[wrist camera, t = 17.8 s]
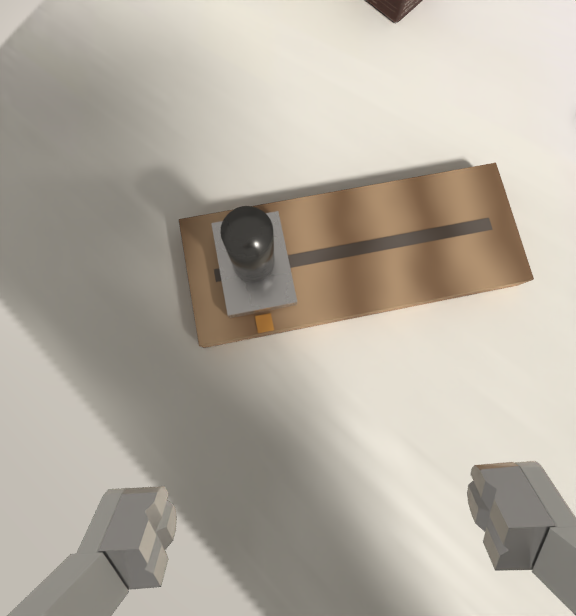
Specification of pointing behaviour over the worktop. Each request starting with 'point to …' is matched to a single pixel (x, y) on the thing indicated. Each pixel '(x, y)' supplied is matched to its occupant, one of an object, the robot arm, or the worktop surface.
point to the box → (394, 7)
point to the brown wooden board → (370, 252)
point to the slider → (253, 262)
